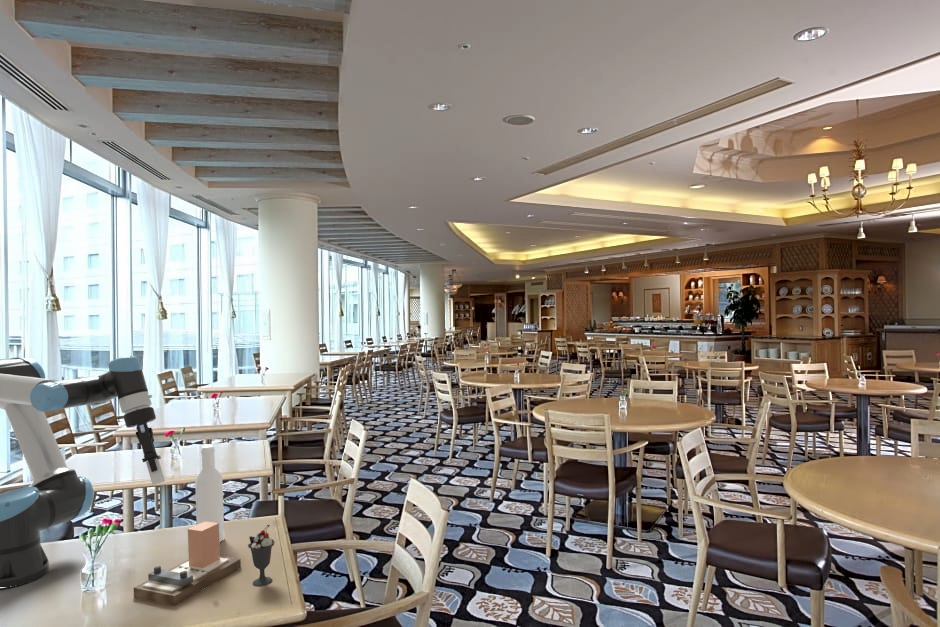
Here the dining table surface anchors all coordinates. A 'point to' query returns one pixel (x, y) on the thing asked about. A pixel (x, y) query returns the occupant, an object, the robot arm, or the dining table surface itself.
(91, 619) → the dining table surface
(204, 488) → the bottle
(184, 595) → the board
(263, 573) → the sundae
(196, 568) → the stub
